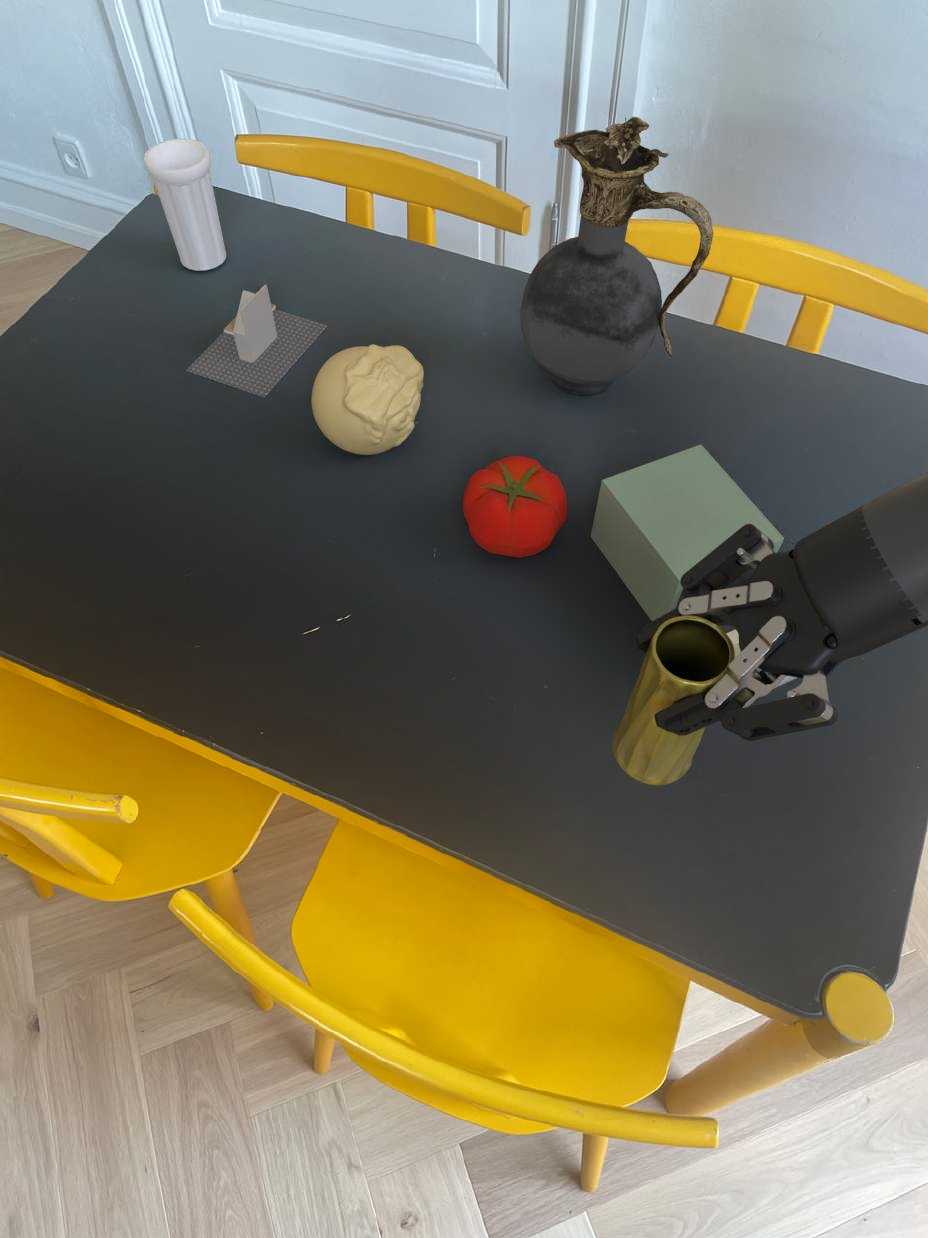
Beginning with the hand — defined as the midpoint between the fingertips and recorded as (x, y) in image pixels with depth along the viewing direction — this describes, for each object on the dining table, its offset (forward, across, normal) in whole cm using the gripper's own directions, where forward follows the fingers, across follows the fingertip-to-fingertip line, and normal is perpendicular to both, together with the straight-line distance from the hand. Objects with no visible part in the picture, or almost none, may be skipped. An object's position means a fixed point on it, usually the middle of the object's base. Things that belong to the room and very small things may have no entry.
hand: (653, 684), depth 57 cm
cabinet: (+6, -25, +23) cm, 34 cm away
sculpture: (+28, -47, +1) cm, 55 cm away
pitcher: (+9, -54, +21) cm, 58 cm away
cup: (+43, -83, -14) cm, 94 cm away
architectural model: (+37, -63, -8) cm, 74 cm away
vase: (+6, 0, +9) cm, 11 cm away
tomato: (+18, -31, +11) cm, 37 cm away
